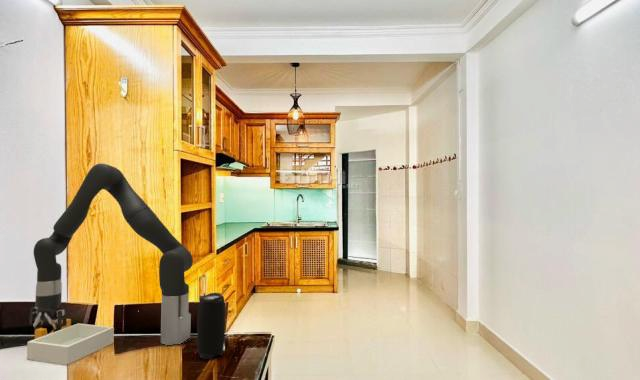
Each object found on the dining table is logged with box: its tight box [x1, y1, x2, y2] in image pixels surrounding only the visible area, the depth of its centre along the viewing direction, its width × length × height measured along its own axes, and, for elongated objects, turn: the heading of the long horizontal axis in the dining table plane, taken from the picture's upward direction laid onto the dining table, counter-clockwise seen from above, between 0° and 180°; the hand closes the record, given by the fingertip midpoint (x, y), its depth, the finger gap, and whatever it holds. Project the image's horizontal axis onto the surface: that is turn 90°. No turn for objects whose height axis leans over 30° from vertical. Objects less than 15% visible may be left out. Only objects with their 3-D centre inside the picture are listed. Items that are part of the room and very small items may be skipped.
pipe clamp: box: [34, 318, 72, 339], centre depth 128 cm, size 12×4×6 cm, turn 171°
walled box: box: [26, 323, 115, 366], centre depth 121 cm, size 16×18×6 cm
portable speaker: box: [196, 292, 226, 360], centre depth 119 cm, size 9×9×20 cm
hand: (47, 337), depth 129 cm, fingers open, 8 cm apart
